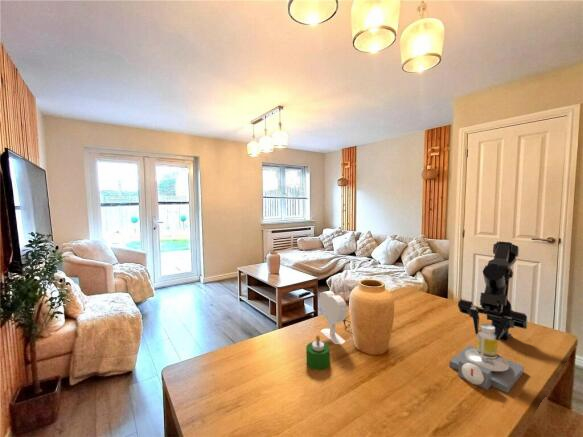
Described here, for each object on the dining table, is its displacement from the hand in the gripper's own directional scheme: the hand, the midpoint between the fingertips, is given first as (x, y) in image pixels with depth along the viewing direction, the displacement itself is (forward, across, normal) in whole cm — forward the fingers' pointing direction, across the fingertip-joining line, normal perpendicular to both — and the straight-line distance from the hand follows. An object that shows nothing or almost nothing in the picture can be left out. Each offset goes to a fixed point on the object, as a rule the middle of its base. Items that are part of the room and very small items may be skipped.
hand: (486, 336), depth 88 cm
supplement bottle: (+4, 0, +6) cm, 7 cm away
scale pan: (+6, 0, +7) cm, 9 cm away
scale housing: (+9, 0, +8) cm, 12 cm away
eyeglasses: (+9, -46, +9) cm, 47 cm away
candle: (+33, -42, -17) cm, 56 cm away
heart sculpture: (+20, -50, -4) cm, 54 cm away
